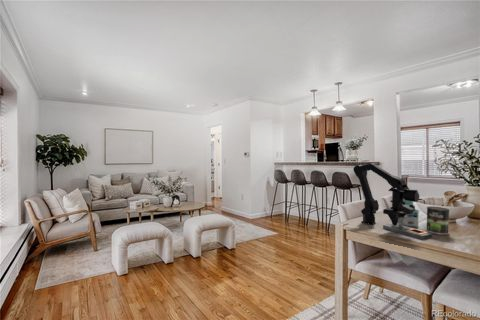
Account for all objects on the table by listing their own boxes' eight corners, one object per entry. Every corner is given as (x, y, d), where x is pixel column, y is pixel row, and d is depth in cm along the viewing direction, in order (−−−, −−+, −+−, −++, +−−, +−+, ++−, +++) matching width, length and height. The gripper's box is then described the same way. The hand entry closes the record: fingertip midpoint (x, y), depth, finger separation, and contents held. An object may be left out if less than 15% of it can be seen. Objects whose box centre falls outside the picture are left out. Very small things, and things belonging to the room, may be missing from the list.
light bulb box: (418, 226, 153) (419, 209, 153) (406, 226, 155) (407, 209, 155) (410, 222, 164) (410, 206, 164) (399, 221, 165) (399, 206, 165)
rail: (383, 228, 149) (383, 224, 149) (393, 226, 154) (393, 222, 154) (422, 239, 130) (422, 235, 129) (433, 237, 134) (433, 232, 134)
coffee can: (446, 236, 136) (446, 211, 136) (423, 231, 144) (424, 207, 144) (450, 232, 142) (451, 208, 142) (429, 228, 150) (429, 205, 150)
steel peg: (391, 229, 147) (392, 216, 147) (395, 228, 149) (396, 215, 149) (398, 231, 144) (398, 217, 144) (402, 230, 146) (402, 217, 145)
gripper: (402, 202, 135) (401, 230, 135) (421, 200, 143) (420, 226, 143) (382, 199, 145) (382, 225, 145) (401, 197, 153) (401, 221, 153)
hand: (397, 224), depth 147 cm, fingers open, 5 cm apart
